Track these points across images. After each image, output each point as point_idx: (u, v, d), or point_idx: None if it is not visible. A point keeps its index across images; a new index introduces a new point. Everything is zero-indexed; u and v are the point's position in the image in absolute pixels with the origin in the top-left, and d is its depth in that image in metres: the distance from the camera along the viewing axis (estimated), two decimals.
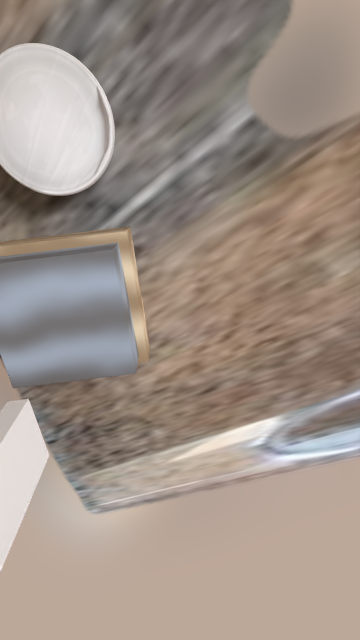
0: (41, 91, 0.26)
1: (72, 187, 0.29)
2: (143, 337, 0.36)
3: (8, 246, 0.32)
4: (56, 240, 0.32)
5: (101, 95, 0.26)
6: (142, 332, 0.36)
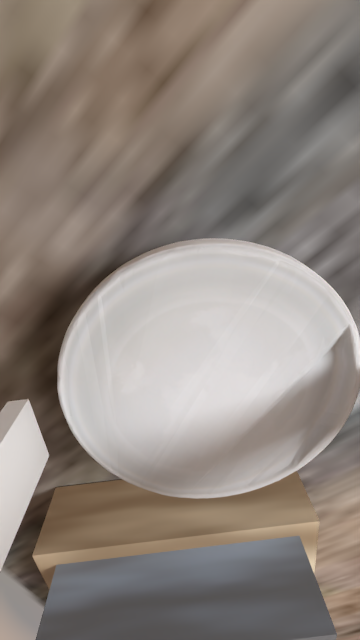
0: (214, 341, 0.11)
1: (241, 486, 0.14)
2: None
3: (92, 549, 0.17)
4: (184, 538, 0.17)
5: (353, 341, 0.11)
6: None
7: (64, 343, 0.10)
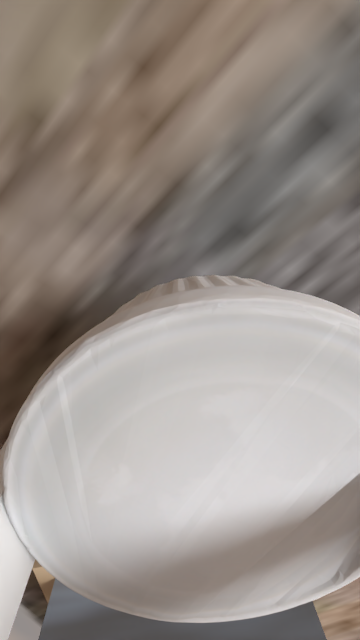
0: (235, 436, 0.07)
1: (265, 605, 0.10)
2: None
3: None
4: None
5: None
6: None
7: (10, 441, 0.07)
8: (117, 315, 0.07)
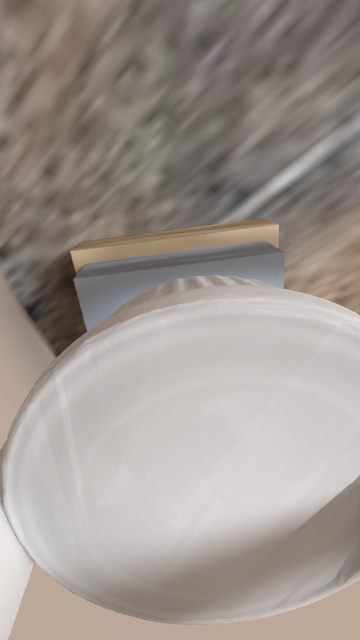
0: (235, 436, 0.07)
1: (266, 607, 0.10)
2: None
3: (114, 247, 0.23)
4: (180, 238, 0.23)
5: None
6: None
7: (9, 442, 0.07)
8: (117, 315, 0.07)
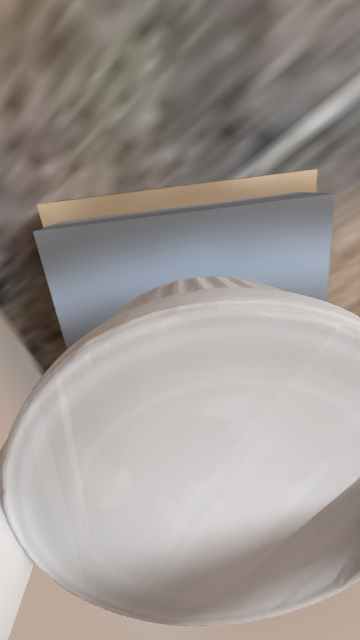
0: (236, 439, 0.07)
1: (266, 608, 0.10)
2: None
3: (96, 199, 0.17)
4: (185, 187, 0.17)
5: None
6: None
7: (9, 444, 0.07)
8: (117, 317, 0.07)
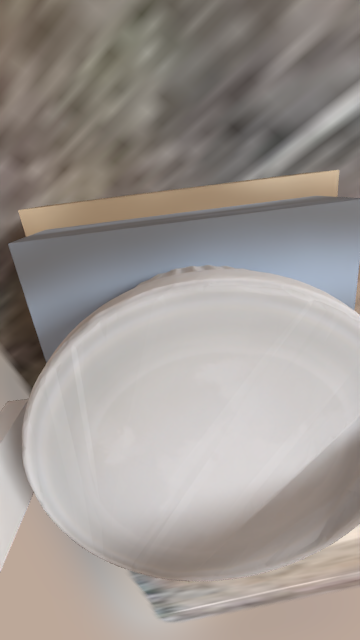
0: (225, 401, 0.08)
1: (256, 565, 0.11)
2: None
3: (86, 204, 0.15)
4: (188, 191, 0.15)
5: None
6: None
7: (29, 405, 0.08)
8: (122, 294, 0.08)
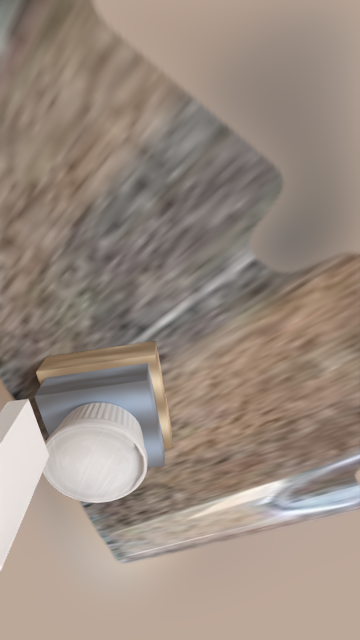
0: (90, 449, 0.33)
1: (112, 497, 0.36)
2: (168, 430, 0.44)
3: (61, 369, 0.40)
4: (99, 363, 0.40)
5: (137, 447, 0.33)
6: (167, 426, 0.44)
7: None
8: (64, 425, 0.32)
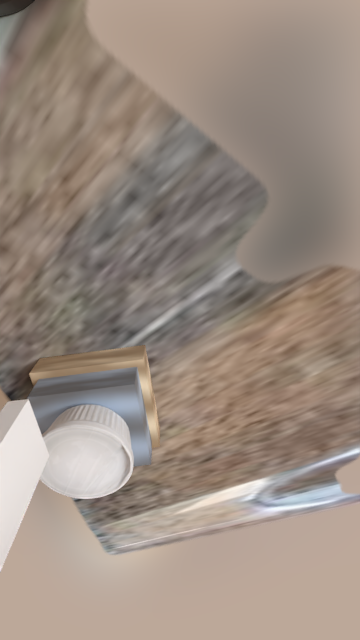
0: (79, 449, 0.35)
1: (100, 493, 0.38)
2: (155, 430, 0.46)
3: (53, 371, 0.41)
4: (90, 366, 0.41)
5: (124, 448, 0.35)
6: (155, 426, 0.46)
7: None
8: (54, 426, 0.34)
